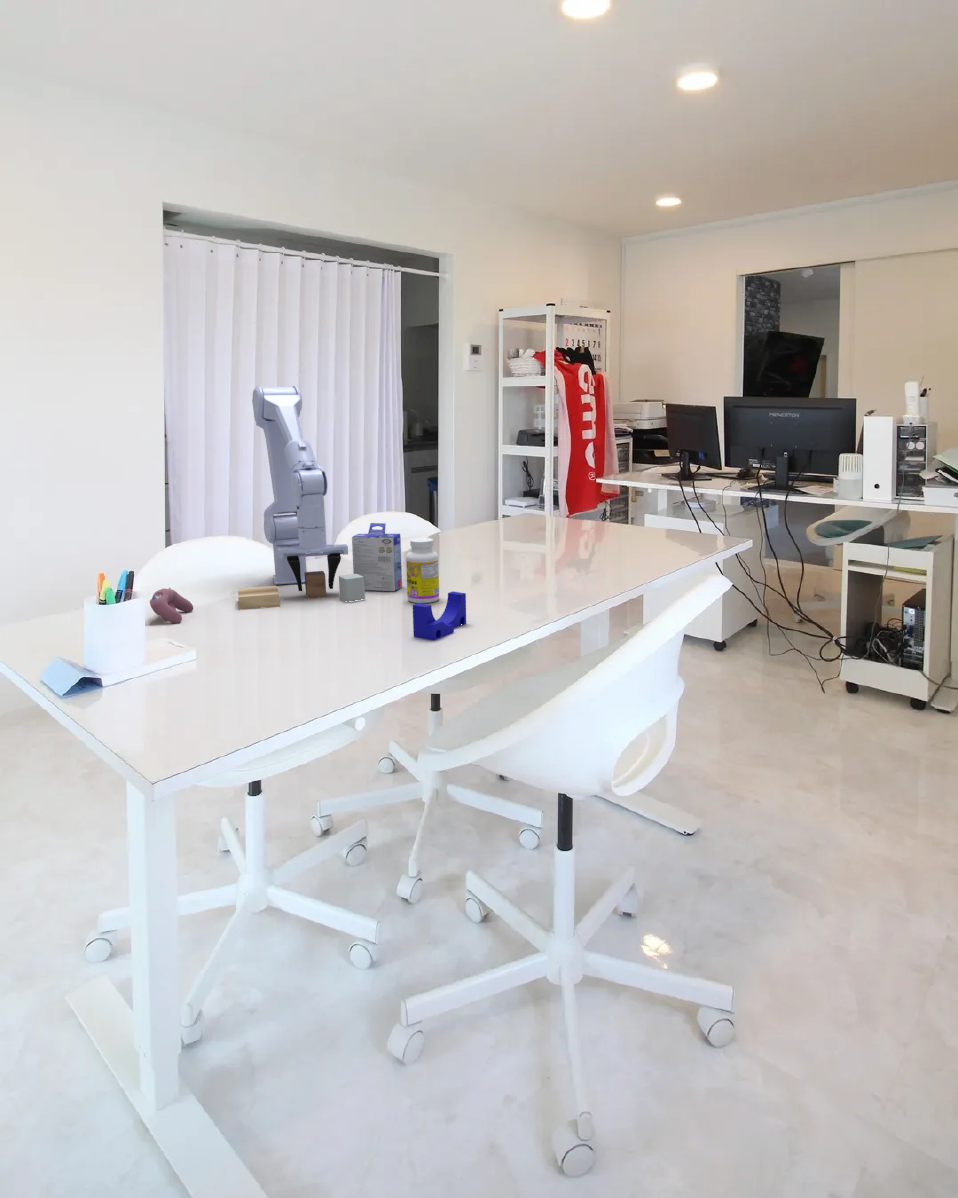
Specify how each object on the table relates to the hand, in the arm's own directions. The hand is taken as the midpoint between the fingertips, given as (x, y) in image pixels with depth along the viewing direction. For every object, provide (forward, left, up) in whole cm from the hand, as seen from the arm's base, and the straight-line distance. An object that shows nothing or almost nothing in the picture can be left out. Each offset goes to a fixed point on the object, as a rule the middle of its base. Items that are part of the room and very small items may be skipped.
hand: (315, 589), depth 174 cm
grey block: (+6, +7, -2) cm, 9 cm away
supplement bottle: (+12, +21, -2) cm, 24 cm away
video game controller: (+9, -29, -2) cm, 30 cm away
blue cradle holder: (+35, +20, -2) cm, 41 cm away
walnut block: (0, 0, -2) cm, 2 cm away
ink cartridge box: (-2, +14, -2) cm, 14 cm away
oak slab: (+3, -12, -2) cm, 12 cm away
